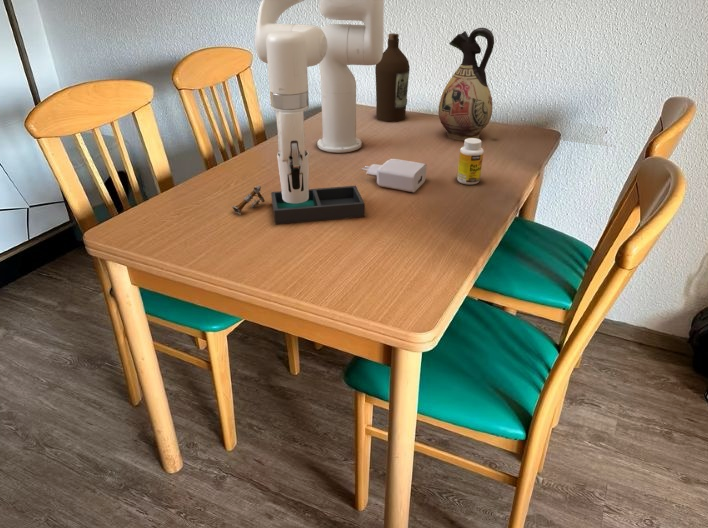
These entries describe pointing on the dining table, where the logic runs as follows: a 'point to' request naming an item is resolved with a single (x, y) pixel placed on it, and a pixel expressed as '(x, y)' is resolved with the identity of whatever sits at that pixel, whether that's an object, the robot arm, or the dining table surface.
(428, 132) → the dining table surface
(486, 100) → the ceramic jug
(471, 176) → the supplement bottle
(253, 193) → the wooden post with brackets
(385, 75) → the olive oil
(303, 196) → the coffee cup
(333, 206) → the grey divided tray
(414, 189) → the charger
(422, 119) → the dining table surface
